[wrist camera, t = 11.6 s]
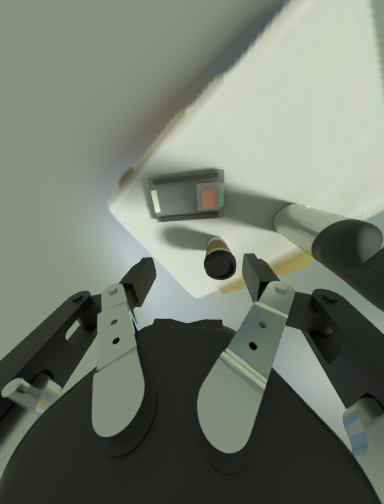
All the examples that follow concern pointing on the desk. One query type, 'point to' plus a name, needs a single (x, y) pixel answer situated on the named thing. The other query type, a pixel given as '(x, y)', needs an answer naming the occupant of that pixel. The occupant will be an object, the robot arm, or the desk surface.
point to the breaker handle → (208, 196)
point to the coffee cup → (219, 260)
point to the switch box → (184, 196)
